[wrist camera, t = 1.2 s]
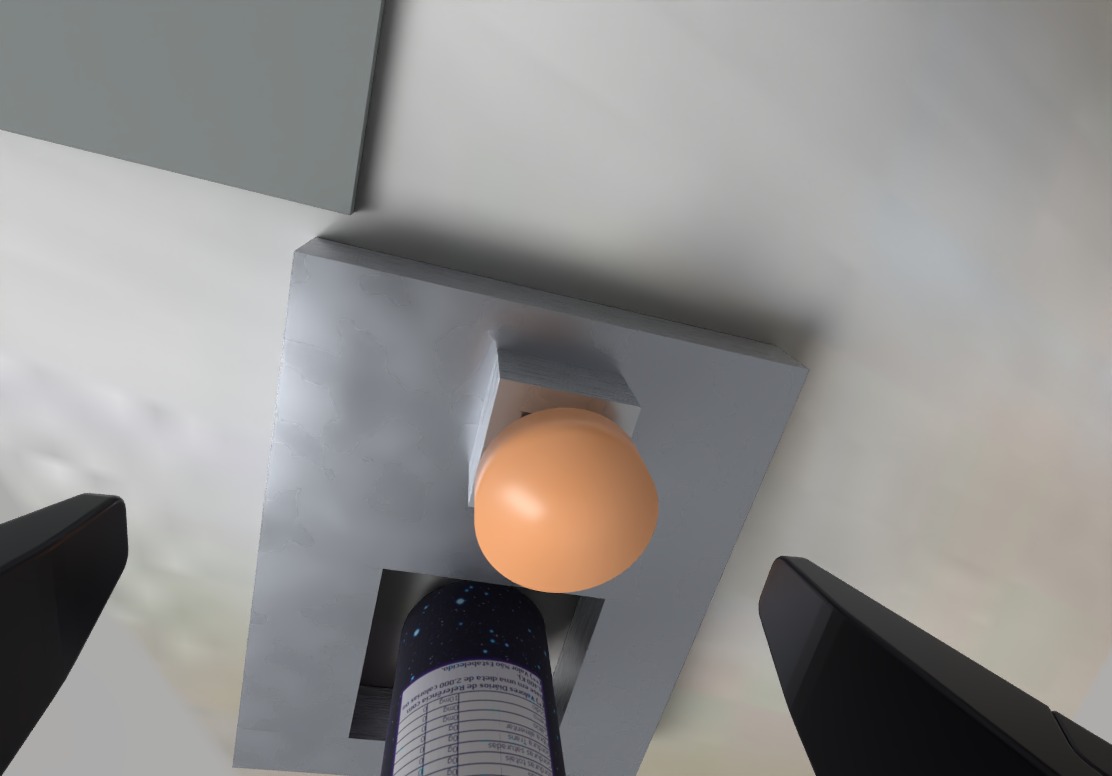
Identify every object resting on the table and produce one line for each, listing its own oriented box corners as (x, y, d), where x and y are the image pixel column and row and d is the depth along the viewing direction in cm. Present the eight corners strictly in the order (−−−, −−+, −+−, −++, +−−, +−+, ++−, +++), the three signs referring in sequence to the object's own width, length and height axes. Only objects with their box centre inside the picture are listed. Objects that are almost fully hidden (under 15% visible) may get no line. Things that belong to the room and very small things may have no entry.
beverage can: (373, 630, 25) (296, 1012, 14) (468, 540, 24) (464, 879, 13) (478, 694, 27) (481, 1074, 16) (571, 613, 26) (640, 962, 15)
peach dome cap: (653, 406, 17) (683, 453, 15) (607, 540, 19) (627, 603, 16) (494, 374, 16) (497, 418, 14) (459, 517, 18) (457, 580, 15)
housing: (775, 345, 23) (851, 400, 18) (615, 743, 30) (641, 856, 25) (315, 236, 20) (266, 269, 15) (253, 711, 26) (206, 834, 22)
